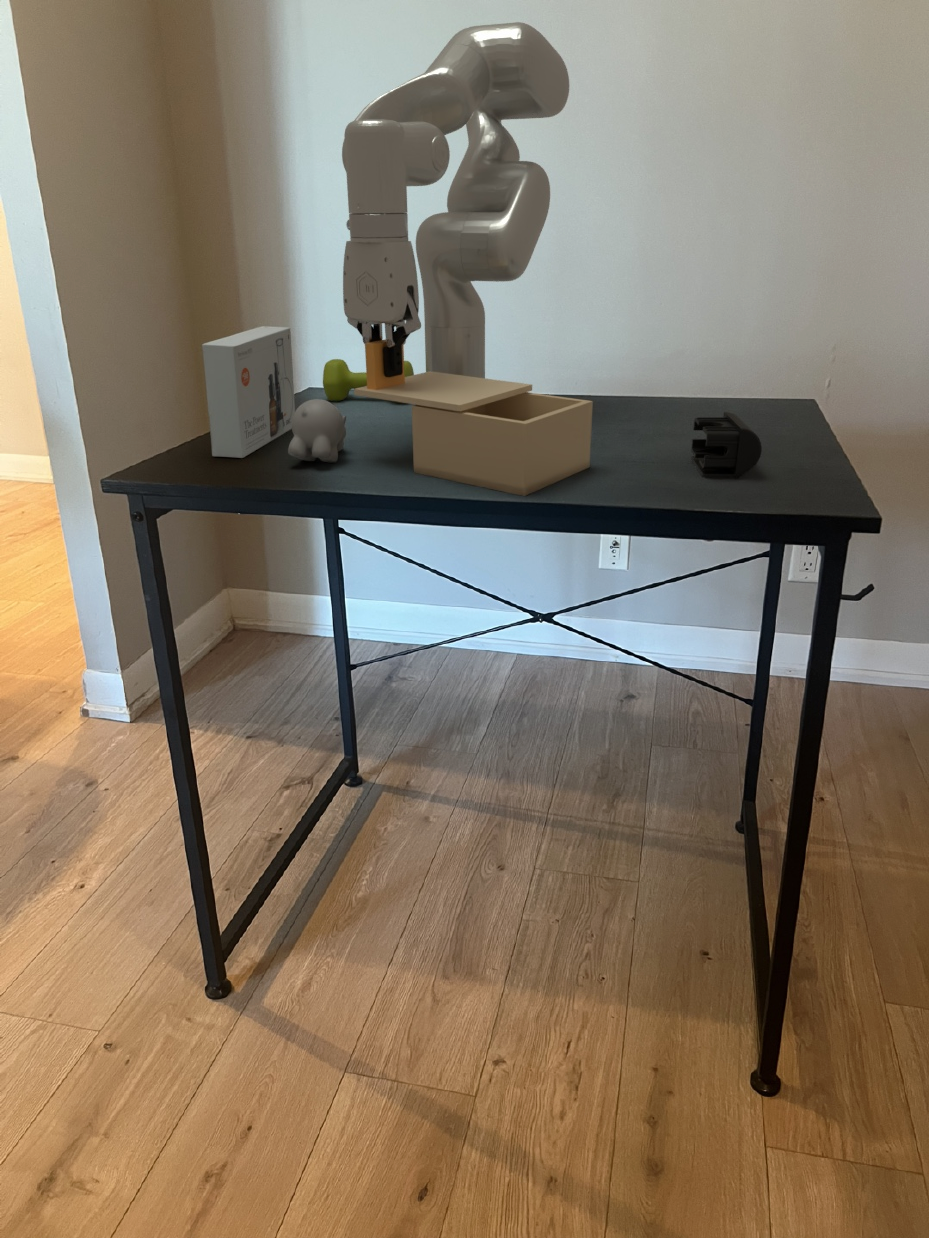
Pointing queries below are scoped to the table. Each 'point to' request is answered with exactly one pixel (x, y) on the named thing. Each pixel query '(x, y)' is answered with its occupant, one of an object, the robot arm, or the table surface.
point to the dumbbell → (347, 379)
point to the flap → (432, 385)
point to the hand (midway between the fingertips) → (385, 373)
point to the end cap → (725, 447)
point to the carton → (504, 442)
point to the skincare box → (249, 389)
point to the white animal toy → (317, 431)
